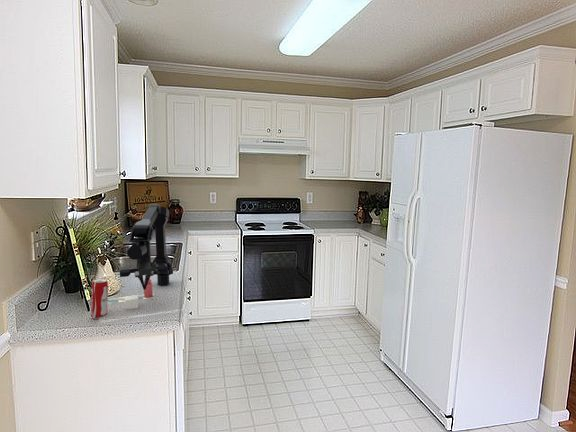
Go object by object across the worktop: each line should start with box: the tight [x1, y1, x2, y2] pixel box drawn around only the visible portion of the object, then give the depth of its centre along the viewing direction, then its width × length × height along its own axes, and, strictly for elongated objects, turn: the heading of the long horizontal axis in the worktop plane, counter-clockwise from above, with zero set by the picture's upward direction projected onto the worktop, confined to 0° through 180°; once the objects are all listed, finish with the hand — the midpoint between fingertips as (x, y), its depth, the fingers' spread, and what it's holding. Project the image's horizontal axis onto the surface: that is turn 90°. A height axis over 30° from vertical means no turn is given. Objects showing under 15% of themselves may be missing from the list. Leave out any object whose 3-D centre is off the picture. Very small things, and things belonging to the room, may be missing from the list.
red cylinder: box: [143, 278, 154, 298], centre depth 173 cm, size 4×4×8 cm
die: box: [123, 294, 139, 310], centre depth 161 cm, size 5×5×5 cm
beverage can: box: [90, 278, 109, 320], centre depth 152 cm, size 6×6×15 cm
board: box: [107, 293, 156, 305], centre depth 170 cm, size 6×20×1 cm, turn 115°
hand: (144, 289), depth 163 cm, fingers closed
